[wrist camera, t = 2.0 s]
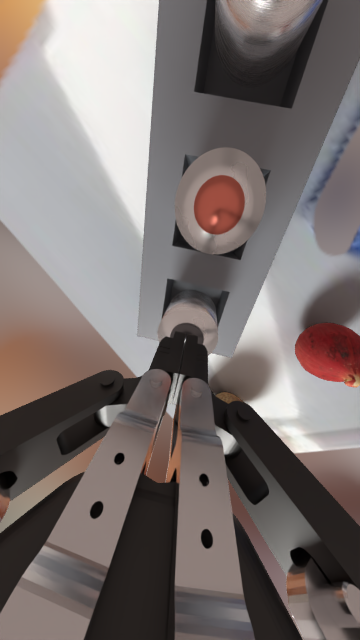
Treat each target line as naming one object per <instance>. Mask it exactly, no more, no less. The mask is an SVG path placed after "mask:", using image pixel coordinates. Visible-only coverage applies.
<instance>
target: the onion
mask: <svg viewBox="0 0 360 640" xmlns="http://www.w3.org/2000/svg"><path fill="white" fill-rule="evenodd" d="M295 354H296V356H297V359H298V360H299V362H300V364H301V365H302V367H303V368H304V369H305V370H306V371H308V372H309V373H311V374H313V375H315V376H317V377H318V378H321V379H324V380H328V381H335V382H344V381H345V382H344V383H345V384H346V385H347V386H350V387H358V386H359V385H360V336H359V335H358V334H356V333H355V332H354V331H353V330H351V329H349V328H347V327H345V326H342V325H338V324H334V323H320V324H315V325H313V326H311V327H309V328H307V329H305V330H304V331H303V332H302V333H301V334H300V335H299V337H298V339H297V341H296V344H295Z"/></svg>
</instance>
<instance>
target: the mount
mask: <svg viewBox="0 0 360 640" xmlns="http://www.w3.org/2000/svg"><path fill="white" fill-rule="evenodd" d="M215 1H216V0H159V10H158V25H157V40H156V56H155V71H154V86H153V101H152V117H151V132H150V147H149V163H148V178H147V193H146V209H145V224H144V239H143V255H142V270H141V285H140V301H139V316H138V331H137V336H140V337H145V338H149V339H153V340H157V341H159V340H158V335H157V332H158V327H159V324H160V322H161V320H162V318H163V316H164V314H165V312H166V310H167V308H168V306H169V304H170V302H171V300H172V299H173V298H174V297H175V296H176V295H177V294H178V293H180V292H183V291H186V290H196V291H200V292H203V293H205V294H206V295H207V296H209V297H210V298H211V299H212V301H213V302H214V304H215V307H216V316H217V327H218V342H217V345H216V347H215V349H214V350H213V352H212V353H213V354H217V355H222V356H226V357H230V358H232V355H233V353H234V351H235V348H236V346H237V344H238V341H239V339H240V337H241V334H242V332H243V330H244V327H245V325H246V323H247V320H248V318H249V316H250V313H251V311H252V309H253V306H254V304H255V302H256V299H257V297H258V295H259V292H260V290H261V288H262V285H263V283H264V281H265V278H266V276H267V274H268V271H269V269H270V267H271V264H272V262H273V260H274V257H275V255H276V253H277V250H278V248H279V246H280V243H281V241H282V239H283V236H284V234H285V232H286V229H287V227H288V225H289V222H290V220H291V218H292V215H293V213H294V211H295V208H296V206H297V203H298V201H299V199H300V196H301V194H302V192H303V189H304V187H305V185H306V182H307V180H308V178H309V175H310V173H311V171H312V168H313V166H314V164H315V161H316V159H317V157H318V154H319V152H320V150H321V147H322V145H323V143H324V140H325V138H326V136H327V133H328V131H329V129H330V126H331V124H332V122H333V119H334V117H335V115H336V112H337V110H338V108H339V105H340V103H341V101H342V98H343V96H344V94H345V91H346V89H347V87H348V84H349V82H350V80H351V77H352V75H353V73H354V70H355V68H356V66H357V63H358V61H359V59H360V0H323V1H322V3H321V5H320V7H319V9H318V11H317V13H316V15H315V17H314V19H313V21H312V23H311V25H310V27H309V29H308V31H307V33H306V35H305V37H304V39H303V41H302V42H301V44H300V46H299V48H298V50H297V52H296V53H295V55H294V56H293V58H292V59H291V61H290V62H289V63H288V64H287V66H286V67H285V68H284V69H283V70H282V71H281V72H280V73H279V74H278V75H277V76H275V77H274V78H273V79H271V80H270V81H268V82H266V83H264V84H262V85H258V86H253V87H248V86H243V85H240V84H238V83H236V82H234V81H233V80H232V79H231V78H230V77H229V76H228V75H227V74H226V72H225V71H224V69H223V67H222V65H221V63H220V60H219V57H218V53H217V49H216V42H215ZM224 147H228V148H235V149H238V150H241V151H243V152H245V153H246V154H248V155H249V156H250V157H251V158H252V159H253V160H254V161H255V162H256V163H257V165H258V166H259V168H260V170H261V172H262V174H263V177H264V180H265V186H266V204H265V209H264V213H263V216H262V219H261V221H260V223H259V225H258V227H257V229H256V230H255V232H254V233H253V234H252V236H251V237H250V238H249V239H248V240H247V241H246V242H245V243H244V244H242V245H241V246H240V247H238V248H236V249H234V250H232V251H230V252H227V253H223V254H207V253H203V252H201V251H199V250H197V249H195V248H193V247H192V246H191V245H190V244H189V243H188V242H187V241H186V240H185V239H184V237H183V236H182V234H181V232H180V230H179V228H178V225H177V222H176V217H175V197H176V192H177V189H178V185H179V183H180V181H181V178H182V177H183V175H184V173H185V171H186V170H187V169H188V167H189V166H190V165H191V164H192V163H193V162H194V161H195V160H196V159H197V158H198V157H200V156H201V155H203V154H204V153H206V152H208V151H211V150H213V149H217V148H224Z"/></svg>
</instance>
